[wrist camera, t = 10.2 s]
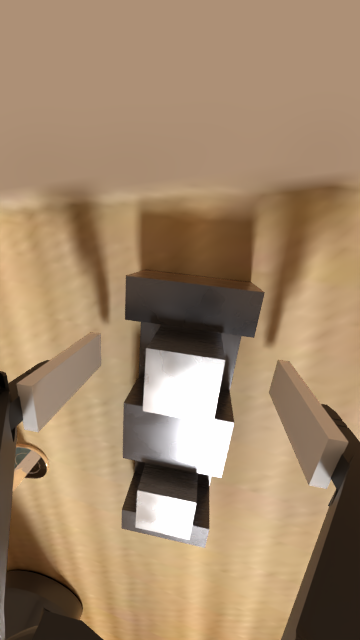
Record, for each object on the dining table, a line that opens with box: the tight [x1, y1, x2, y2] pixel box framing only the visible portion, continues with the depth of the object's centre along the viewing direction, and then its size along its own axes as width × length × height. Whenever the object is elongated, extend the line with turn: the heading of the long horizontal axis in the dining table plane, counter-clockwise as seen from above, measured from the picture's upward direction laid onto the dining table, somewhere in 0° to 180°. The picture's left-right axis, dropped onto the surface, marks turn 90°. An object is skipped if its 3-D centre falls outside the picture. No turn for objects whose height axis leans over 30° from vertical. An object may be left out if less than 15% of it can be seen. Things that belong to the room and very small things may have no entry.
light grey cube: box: [136, 463, 198, 540], centre depth 19 cm, size 4×4×5 cm
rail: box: [122, 270, 265, 548], centre depth 18 cm, size 8×24×4 cm, turn 174°
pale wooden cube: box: [143, 325, 225, 424], centre depth 15 cm, size 4×4×5 cm
